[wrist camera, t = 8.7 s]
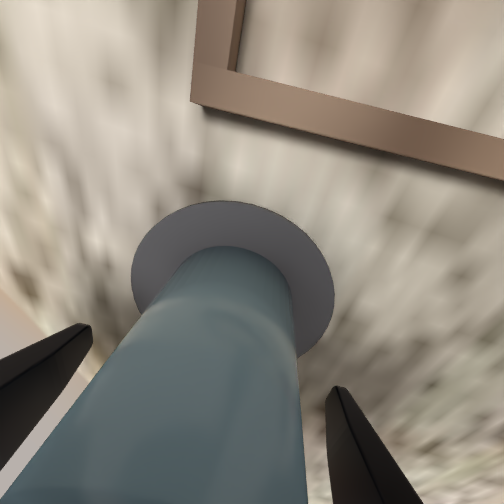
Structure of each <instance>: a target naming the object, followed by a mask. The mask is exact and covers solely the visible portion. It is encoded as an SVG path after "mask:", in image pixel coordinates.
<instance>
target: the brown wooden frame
mask: <svg viewBox="0 0 504 504" xmlns="http://www.w3.org/2000/svg"><path fill="white" fill-rule="evenodd" d="M245 4H246V0H198V11H197V23H196V35H195V47H194V59H193V70H192V82H191V94H190V102H193V103H196V104H198V105H201V106H205V107H209V108H213V109H217V110H221V111H225V112H229V113H233V114H237V115H241V116H245V117H249V118H253V119H257V120H261V121H265V122H269V123H273V124H277V125H281V126H285V127H289V128H293V129H297V130H301V131H305V132H309V133H313V134H317V135H321V136H325V137H329V138H333V139H337V140H341V141H345V142H349V143H353V144H357V145H361V146H365V147H369V148H373V149H377V150H381V151H385V152H389V153H393V154H397V155H401V156H405V157H409V158H413V159H417V160H421V161H425V162H429V163H433V164H437V165H441V166H445V167H449V168H453V169H457V170H461V171H465V172H469V173H473V174H477V175H481V176H485V177H489V178H493V179H497V180H501V181H504V139H501V138H497V137H493V136H489V135H485V134H481V133H477V132H473V131H469V130H465V129H461V128H457V127H453V126H449V125H445V124H441V123H437V122H433V121H429V120H425V119H421V118H417V117H413V116H409V115H405V114H401V113H397V112H393V111H389V110H385V109H381V108H377V107H373V106H369V105H365V104H361V103H357V102H353V101H349V100H345V99H341V98H337V97H333V96H329V95H325V94H321V93H317V92H313V91H309V90H305V89H301V88H297V87H293V86H289V85H285V84H282V83H278V82H274V81H270V80H266V79H262V78H258V77H254V76H250V75H246V74H242V73H238V72H235V70H236V63H237V56H238V50H239V43H240V37H241V30H242V24H243V17H244V10H245Z"/></svg>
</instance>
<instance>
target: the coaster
mask: <svg viewBox="0 0 504 504" xmlns="http://www.w3.org/2000/svg"><path fill="white" fill-rule="evenodd" d="M215 246H234V247H240V248H244V249H247V250H250V251H253V252H255V253H257V254H260V255H261V256H263V257H265V258H266V259H268V260H269V261H270V262H272V263H273V264H274V265H275V266H276V267H277V268H278V269H279V270H280V271H281V273H282V274H283V275H284V277H285V278H286V280H287V282H288V284H289V287H290V290H291V294H292V304H293V317H294V329H295V342H296V355H297V358H298V357H300V356H301V355H303V354H304V353H306V352H307V351H308V350H309V349H310V348H312V347H313V346H314V345H315V344H316V343H317V341H318V340H319V339H320V338H321V337H322V335H323V334H324V332H325V330H326V329H327V327H328V324H329V322H330V320H331V317H332V313H333V308H334V296H335V294H334V285H333V280H332V277H331V273H330V270H329V267H328V265H327V263H326V261H325V259H324V257H323V255H322V253H321V252H320V250H319V249H318V247H317V246H316V244H315V243H314V242H313V241H312V240H311V239H310V238H309V236H308V235H307V234H306V233H305V232H303V231H302V230H301V229H300V228H299V227H298V226H296V225H295V224H294V223H292V222H291V221H289V220H287V219H286V218H284V217H283V216H281V215H279V214H277V213H275V212H272V211H270V210H268V209H266V208H262V207H259V206H256V205H253V204H248V203H243V202H237V201H210V202H203V203H198V204H194V205H190V206H187V207H185V208H182V209H180V210H177V211H175V212H174V213H172V214H170V215H168V216H167V217H165V218H164V219H162V220H161V221H160V222H159V223H157V224H156V225H155V226H154V227H153V228H152V229H151V230H150V231H149V232H148V233H147V234H146V235H145V237H144V238H143V240H142V241H141V243H140V245H139V246H138V248H137V251H136V253H135V256H134V259H133V264H132V269H131V284H132V291H133V295H134V299H135V302H136V305H137V307H138V310H139V311H140V313H141V315H142V314H143V313H144V311H145V310H146V309H147V307H148V306H149V305H150V303H151V302H152V301H153V300H154V298H155V297H156V296H157V294H158V293H159V292H160V290H161V289H162V288H163V286H164V285H165V284H166V283H167V281H168V280H169V279H170V277H171V276H172V275H173V273H174V272H175V271H176V270H177V268H178V267H179V266H180V264H181V263H182V262H183V261H184V260H185V259H186V258H188V257H189V256H190V255H192V254H194V253H196V252H198V251H200V250H203V249H206V248H210V247H215Z"/></svg>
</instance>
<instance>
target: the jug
mask: <svg viewBox="0 0 504 504" xmlns="http://www.w3.org/2000/svg"><path fill="white" fill-rule="evenodd" d="M0 504H308V496H307V483H306V470H305V457H304V445H303V432H302V419H301V406H300V393H299V381H298V368H297V355H296V342H295V329H294V317H293V304H292V294H291V290H290V287H289V284H288V282H287V280H286V278H285V277H284V275H283V274H282V273H281V271H280V270H279V269H278V268H277V267H276V266H275V265H274V264H273V263H272V262H270V261H269V260H268V259H266V258H265V257H263V256H261V255H260V254H257V253H255V252H253V251H250V250H247V249H244V248H240V247H234V246H215V247H210V248H206V249H203V250H200V251H198V252H196V253H194V254H192V255H190V256H189V257H188V258H186V259H185V260H184V261H183V262H182V263H181V264H180V266H179V267H178V268H177V270H176V271H175V272H174V273H173V275H172V276H171V277H170V279H169V280H168V281H167V283H166V284H165V285H164V286H163V288H162V289H161V290H160V292H159V293H158V294H157V296H156V297H155V298H154V300H153V301H152V302H151V303H150V305H149V306H148V307H147V309H146V310H145V311H144V313H143V314H142V315H141V316H140V318H139V319H138V320H137V322H136V323H135V324H134V326H133V327H132V328H131V330H130V331H129V332H128V333H127V335H126V336H125V337H124V339H123V340H122V341H121V343H120V344H119V345H118V346H117V348H116V349H115V350H114V352H113V353H112V354H111V356H110V357H109V358H108V360H107V361H106V362H105V363H104V365H103V366H102V367H101V369H100V370H99V371H98V373H97V374H96V375H95V377H94V378H93V379H92V380H91V382H90V383H89V384H88V386H87V387H86V388H85V390H84V391H83V392H82V394H81V395H80V396H79V397H78V399H77V400H76V401H75V403H74V404H73V405H72V407H71V408H70V409H69V410H68V412H67V413H66V414H65V416H64V417H63V418H62V420H61V421H60V422H59V424H58V425H57V426H56V427H55V429H54V430H53V431H52V433H51V434H50V435H49V437H48V438H47V439H46V440H45V442H44V443H43V445H42V446H41V447H40V448H39V450H38V451H37V452H36V454H35V455H34V456H33V458H32V459H31V460H30V461H29V463H28V464H27V465H26V467H25V468H24V469H23V470H22V472H21V473H20V474H19V476H18V477H17V478H16V480H15V481H14V482H13V484H12V485H11V486H10V487H9V489H8V490H7V491H6V493H5V494H4V495H3V497H2V498H1V499H0Z"/></svg>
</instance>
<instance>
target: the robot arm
mask: <svg viewBox="0 0 504 504" xmlns="http://www.w3.org/2000/svg"><path fill="white" fill-rule="evenodd" d="M92 344H93V336H92V329H91V326H90V325H86V324H82V323H77V324H75V325H72V326H70V327H68V328H66V329H64V330H62V331H60V332H58V333H55V334H53V335H51V336H49V337H47V338H45V339H43V340H41V341H38V342H36V343H34V344H32V345H30V346H28V347H26V348H24V349H21V350H20V351H17V352H15V353H13V354H11V355H9V356H7V357H5V358H2V359H0V471H1V470H2V468H3V467H4V466H5V464H6V463H7V462H8V461H9V459H10V458H11V457H12V456H13V454H14V453H15V452H16V450H17V449H18V448H19V447H20V445H21V444H22V443H23V441H24V440H25V439H26V438H27V436H28V435H29V434H30V432H31V431H32V430H33V428H34V427H35V426H36V425H37V423H38V422H39V421H40V420H41V418H42V417H43V416H44V414H45V413H46V412H47V411H48V409H49V408H50V406H51V405H52V404H53V403H54V402H55V400H56V399H57V398H58V396H59V395H60V394H61V392H62V391H63V390H64V388H65V387H66V385H67V384H68V382H69V381H70V379H71V378H72V376H73V374H74V373H75V372H76V370H77V368H78V367H79V365H80V364H81V362H82V361H83V359H84V358H85V356H86V354H87V353H88V351H89V350H90V348H91V346H92ZM325 416H326V446H327V459H328V467H329V475H330V483H331V491H332V499H333V504H424V503H423V502H422V500H421V499H420V497H419V496H418V494H417V493H416V491H415V490H414V488H413V487H412V486H411V484H410V483H409V481H408V480H407V478H406V477H405V475H404V474H403V472H402V471H401V469H400V468H399V466H398V465H397V463H396V462H395V460H394V459H393V457H392V456H391V454H390V453H389V451H388V450H387V448H386V447H385V445H384V444H383V442H382V441H381V439H380V438H379V436H378V435H377V433H376V432H375V430H374V429H373V427H372V426H371V424H370V423H369V421H368V420H367V418H366V417H365V415H364V414H363V412H362V411H361V409H360V408H359V406H358V405H357V403H356V402H355V400H354V399H353V397H352V396H351V394H350V393H349V391H348V390H347V389H346V388H344V387H340V386H334V387H333V388H332V390H331V391H330V393H329V395H328V396H327V398H326V401H325Z"/></svg>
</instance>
